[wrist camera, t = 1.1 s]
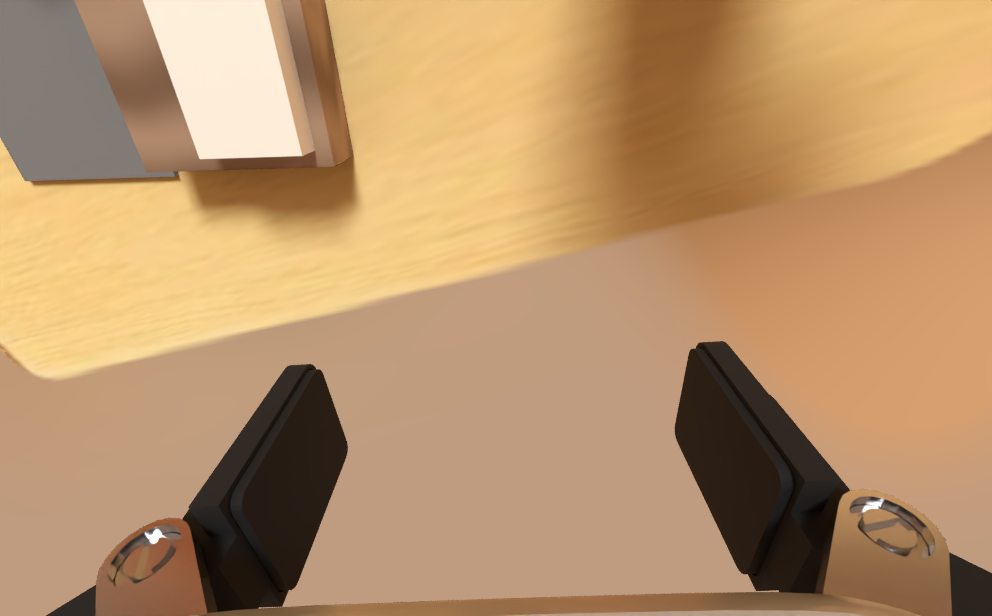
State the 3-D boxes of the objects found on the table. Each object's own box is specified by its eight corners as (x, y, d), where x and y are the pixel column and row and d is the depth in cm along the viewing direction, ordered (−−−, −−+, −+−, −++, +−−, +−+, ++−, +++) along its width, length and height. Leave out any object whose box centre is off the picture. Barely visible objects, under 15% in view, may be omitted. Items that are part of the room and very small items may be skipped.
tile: (158, -30, 22) (129, -39, 20) (273, -34, 22) (254, -43, 20) (219, 153, 26) (199, 159, 24) (315, 150, 26) (302, 156, 24)
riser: (114, -34, 25) (52, -51, 21) (316, -42, 25) (287, -60, 21) (187, 160, 30) (146, 172, 27) (353, 155, 30) (334, 166, 27)
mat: (-97, -48, 25) (-106, -50, 24) (89, -56, 24) (83, -57, 24) (30, 179, 31) (25, 181, 31) (178, 175, 31) (175, 176, 30)
